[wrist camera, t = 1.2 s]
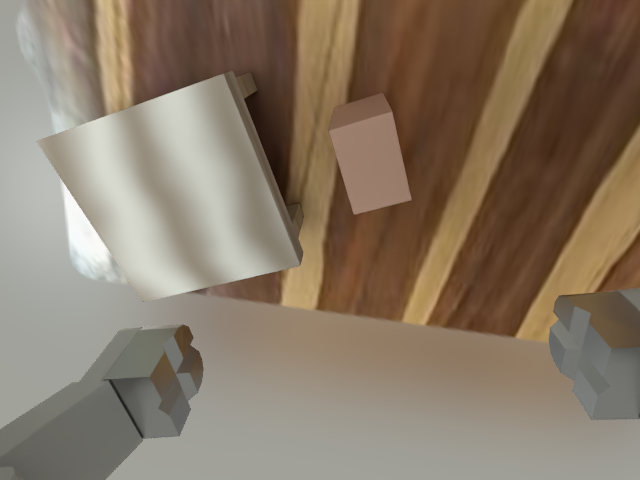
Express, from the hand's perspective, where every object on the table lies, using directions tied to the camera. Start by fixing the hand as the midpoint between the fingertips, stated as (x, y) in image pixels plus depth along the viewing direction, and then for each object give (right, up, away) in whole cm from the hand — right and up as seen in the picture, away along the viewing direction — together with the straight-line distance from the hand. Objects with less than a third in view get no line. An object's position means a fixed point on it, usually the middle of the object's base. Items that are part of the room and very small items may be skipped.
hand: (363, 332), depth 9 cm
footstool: (-11, +8, +25) cm, 29 cm away
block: (+3, +11, +23) cm, 25 cm away
